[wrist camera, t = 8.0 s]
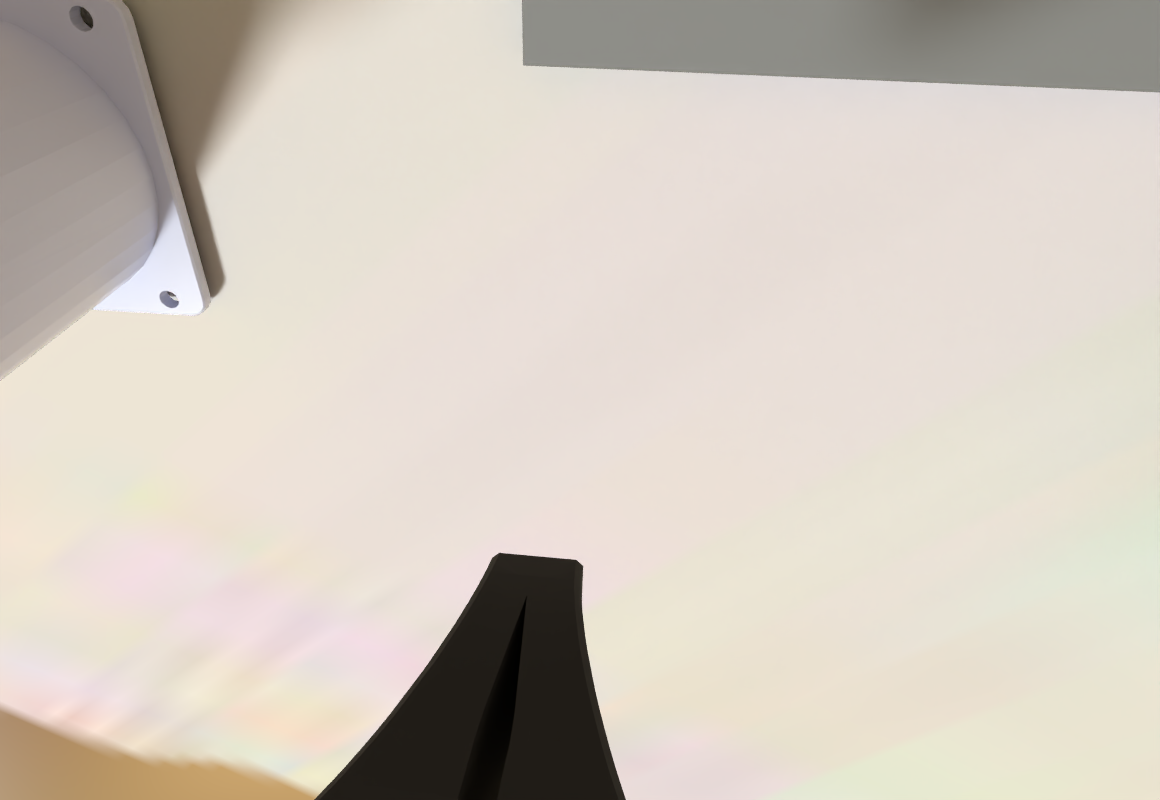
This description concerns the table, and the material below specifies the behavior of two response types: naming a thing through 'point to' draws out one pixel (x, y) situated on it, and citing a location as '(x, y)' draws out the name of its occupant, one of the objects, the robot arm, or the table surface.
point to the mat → (859, 39)
